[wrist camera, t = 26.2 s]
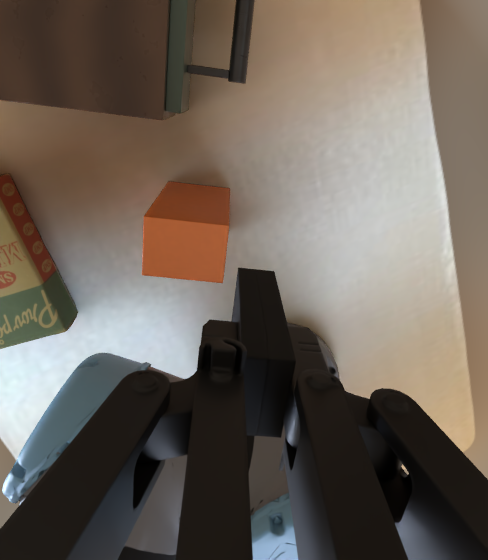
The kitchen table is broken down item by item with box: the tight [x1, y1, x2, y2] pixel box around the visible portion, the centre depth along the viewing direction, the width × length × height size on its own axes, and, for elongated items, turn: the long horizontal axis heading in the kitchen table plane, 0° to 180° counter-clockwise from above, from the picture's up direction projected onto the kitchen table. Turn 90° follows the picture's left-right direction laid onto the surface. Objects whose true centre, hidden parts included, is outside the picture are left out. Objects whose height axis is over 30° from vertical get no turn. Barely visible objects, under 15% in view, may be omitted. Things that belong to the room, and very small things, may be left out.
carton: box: [0, 173, 78, 349], centre depth 43 cm, size 8×16×4 cm, turn 15°
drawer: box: [165, 0, 255, 113], centre depth 33 cm, size 19×12×6 cm, turn 83°
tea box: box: [142, 181, 230, 283], centre depth 38 cm, size 6×4×13 cm
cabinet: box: [0, 0, 176, 120], centre depth 33 cm, size 16×14×8 cm
